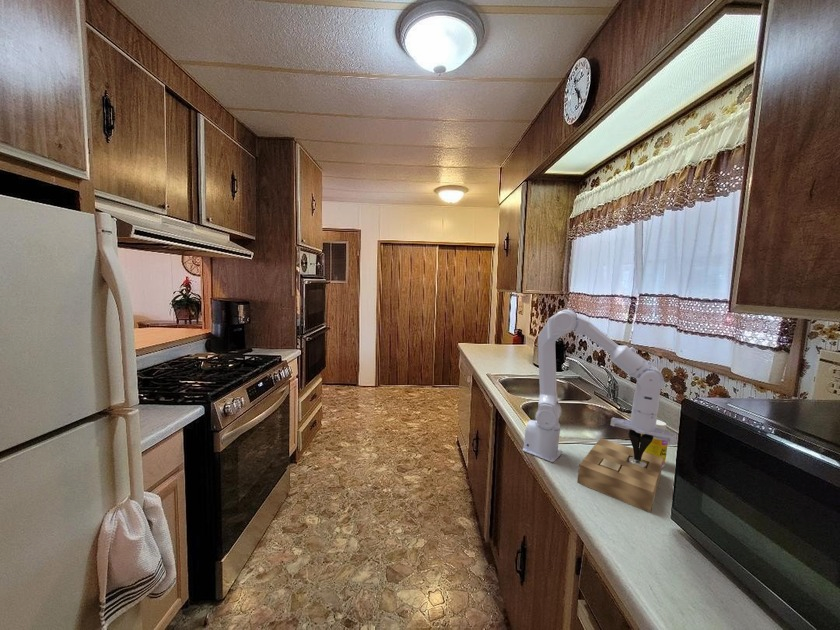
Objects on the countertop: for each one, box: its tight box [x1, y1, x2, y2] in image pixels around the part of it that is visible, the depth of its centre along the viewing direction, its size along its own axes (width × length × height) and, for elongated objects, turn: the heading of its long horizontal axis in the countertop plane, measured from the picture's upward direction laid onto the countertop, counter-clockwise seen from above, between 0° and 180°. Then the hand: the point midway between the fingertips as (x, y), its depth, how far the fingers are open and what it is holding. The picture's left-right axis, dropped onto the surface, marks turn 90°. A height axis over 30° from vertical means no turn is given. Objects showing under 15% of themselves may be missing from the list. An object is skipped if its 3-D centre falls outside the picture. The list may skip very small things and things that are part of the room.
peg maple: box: [600, 459, 621, 472], centre depth 89 cm, size 4×4×5 cm
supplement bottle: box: [639, 419, 669, 468], centre depth 101 cm, size 7×7×13 cm
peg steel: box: [629, 457, 647, 468], centre depth 92 cm, size 4×4×5 cm
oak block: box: [576, 438, 663, 513], centre depth 92 cm, size 16×22×5 cm
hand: (637, 459), depth 92 cm, fingers closed
